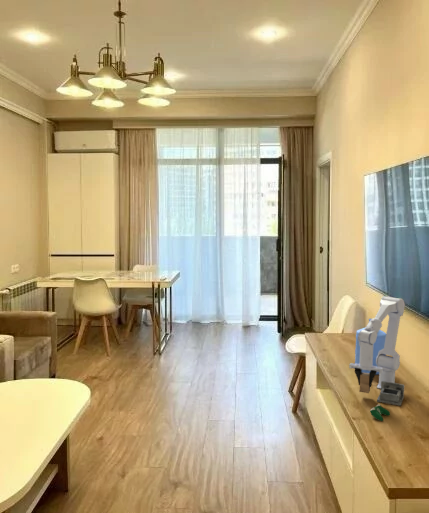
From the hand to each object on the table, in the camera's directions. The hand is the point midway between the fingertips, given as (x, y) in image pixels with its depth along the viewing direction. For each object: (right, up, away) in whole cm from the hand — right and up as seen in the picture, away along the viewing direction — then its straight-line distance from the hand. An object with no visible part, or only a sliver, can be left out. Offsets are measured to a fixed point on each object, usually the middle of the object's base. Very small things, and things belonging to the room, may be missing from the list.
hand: (365, 385), depth 231 cm
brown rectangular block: (0, -3, 0) cm, 3 cm away
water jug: (+14, -2, +40) cm, 43 cm away
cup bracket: (+11, -6, -3) cm, 12 cm away
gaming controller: (0, -8, -21) cm, 23 cm away
